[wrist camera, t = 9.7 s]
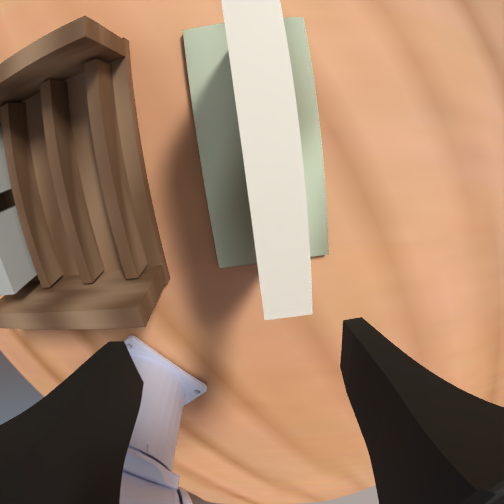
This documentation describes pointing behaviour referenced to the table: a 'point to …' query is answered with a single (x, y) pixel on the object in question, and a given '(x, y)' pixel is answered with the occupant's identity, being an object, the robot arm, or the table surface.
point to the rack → (124, 172)
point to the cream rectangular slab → (271, 153)
